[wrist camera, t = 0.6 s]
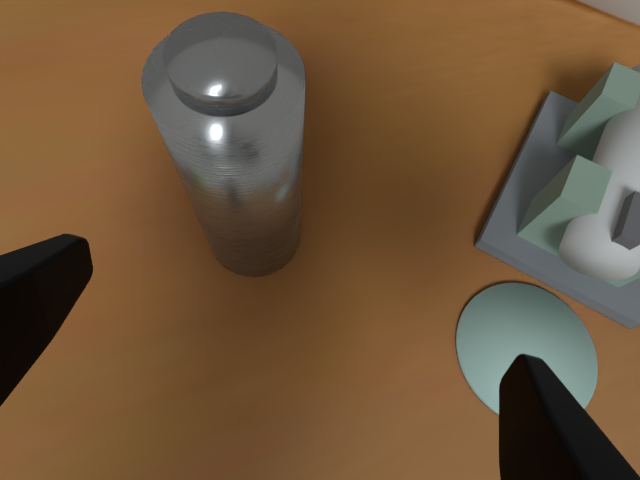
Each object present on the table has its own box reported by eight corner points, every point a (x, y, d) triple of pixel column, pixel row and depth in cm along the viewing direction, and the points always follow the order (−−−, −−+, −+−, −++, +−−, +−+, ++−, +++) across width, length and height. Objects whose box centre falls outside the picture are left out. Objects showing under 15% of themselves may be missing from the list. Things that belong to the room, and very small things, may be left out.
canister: (268, 293, 25) (242, 149, 12) (191, 247, 26) (93, 69, 13) (316, 221, 27) (336, 35, 14) (243, 181, 28) (202, -29, 15)
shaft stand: (630, 328, 25) (741, 294, 19) (473, 246, 27) (529, 189, 21) (676, 160, 31) (775, 90, 24) (543, 100, 32) (604, 19, 26)
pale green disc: (572, 458, 22) (574, 458, 22) (433, 376, 24) (433, 375, 24) (611, 327, 25) (613, 326, 25) (485, 260, 27) (487, 259, 27)
